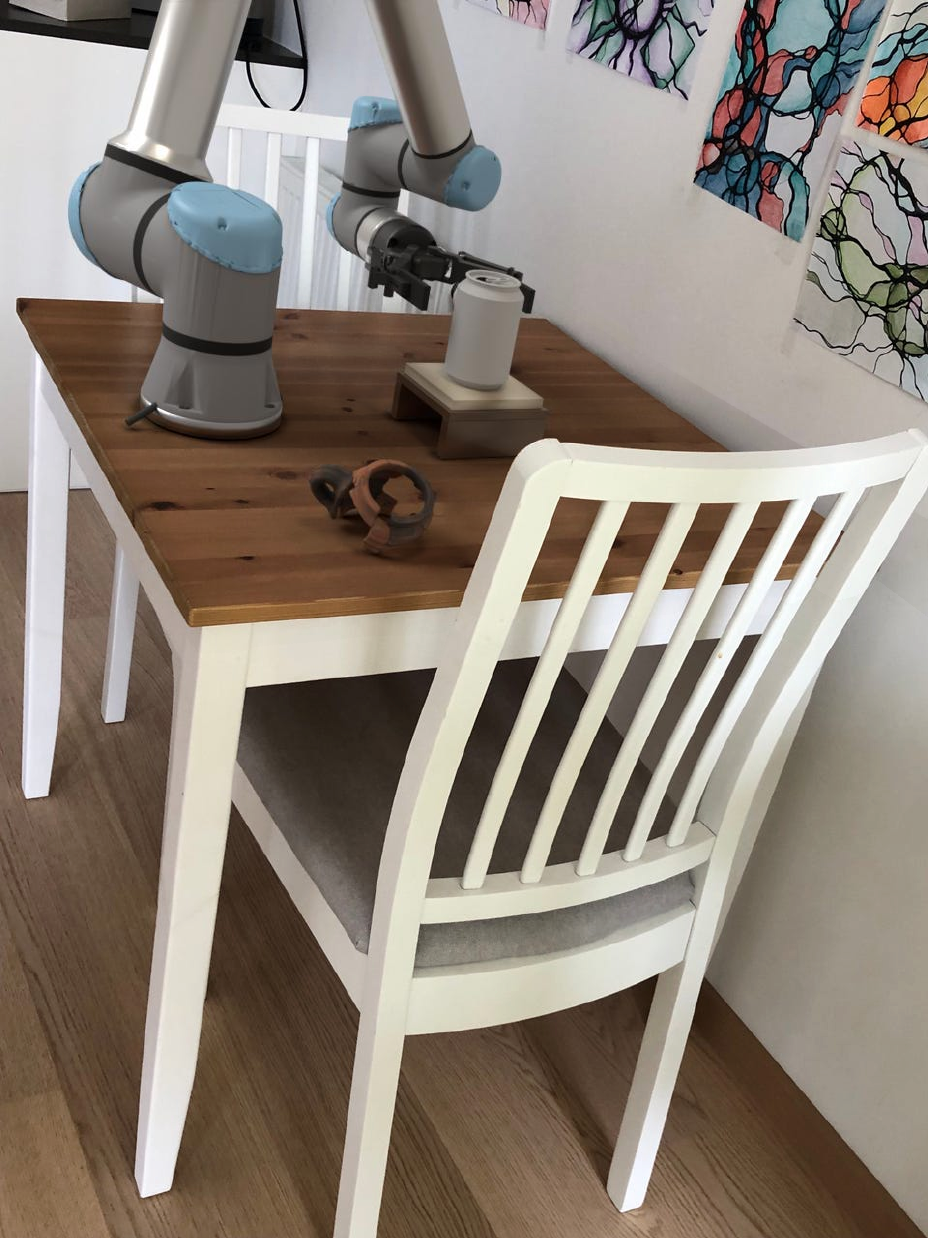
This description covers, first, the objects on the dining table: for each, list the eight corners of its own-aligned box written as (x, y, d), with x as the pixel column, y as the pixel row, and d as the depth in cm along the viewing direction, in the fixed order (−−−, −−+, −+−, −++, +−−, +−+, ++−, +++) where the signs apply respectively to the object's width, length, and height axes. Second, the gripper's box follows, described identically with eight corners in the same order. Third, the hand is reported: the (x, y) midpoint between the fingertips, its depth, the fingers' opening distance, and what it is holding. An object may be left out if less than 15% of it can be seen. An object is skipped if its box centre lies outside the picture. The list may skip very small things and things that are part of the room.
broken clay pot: (418, 517, 123) (450, 469, 117) (401, 593, 118) (434, 546, 111) (304, 473, 120) (331, 421, 114) (282, 548, 115) (309, 497, 108)
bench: (441, 459, 137) (451, 402, 134) (390, 415, 146) (398, 360, 143) (539, 455, 143) (551, 400, 140) (484, 413, 153) (494, 360, 149)
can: (448, 364, 145) (466, 261, 139) (510, 378, 145) (531, 276, 139) (436, 382, 138) (454, 275, 133) (501, 397, 138) (522, 290, 132)
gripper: (478, 281, 162) (564, 334, 146) (301, 273, 150) (374, 331, 134) (489, 222, 158) (578, 271, 143) (308, 210, 146) (384, 262, 131)
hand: (479, 300), depth 138 cm, fingers open, 13 cm apart
